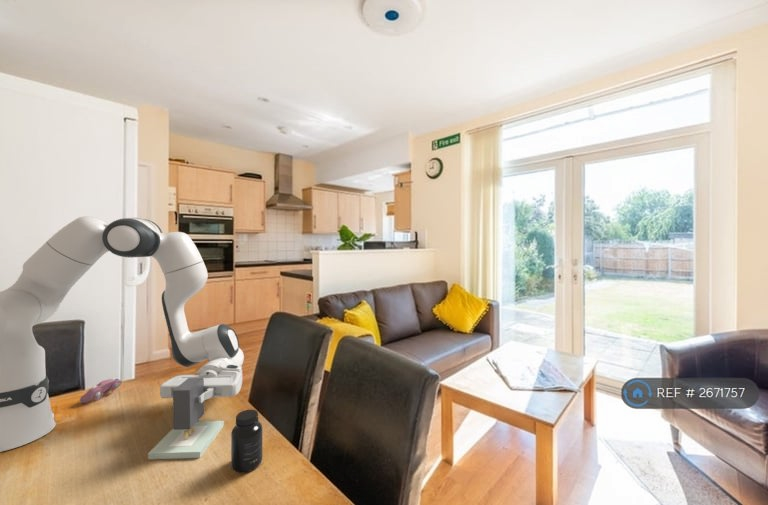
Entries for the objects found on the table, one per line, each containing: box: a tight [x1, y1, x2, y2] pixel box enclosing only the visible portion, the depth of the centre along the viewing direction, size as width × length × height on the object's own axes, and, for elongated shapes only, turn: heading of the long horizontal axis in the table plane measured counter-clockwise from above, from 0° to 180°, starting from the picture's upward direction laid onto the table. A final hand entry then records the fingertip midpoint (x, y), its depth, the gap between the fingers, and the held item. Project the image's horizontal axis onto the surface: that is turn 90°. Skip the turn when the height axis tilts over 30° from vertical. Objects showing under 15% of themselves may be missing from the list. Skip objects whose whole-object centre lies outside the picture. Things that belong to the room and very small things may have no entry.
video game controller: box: [79, 377, 122, 404], centre depth 103 cm, size 10×5×7 cm, turn 170°
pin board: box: [147, 420, 225, 460], centre depth 82 cm, size 12×13×4 cm
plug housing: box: [172, 378, 205, 430], centre depth 82 cm, size 4×7×10 cm, turn 4°
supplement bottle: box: [230, 408, 263, 474], centre depth 74 cm, size 7×7×12 cm
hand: (187, 400), depth 81 cm, fingers closed on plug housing, 4 cm apart
